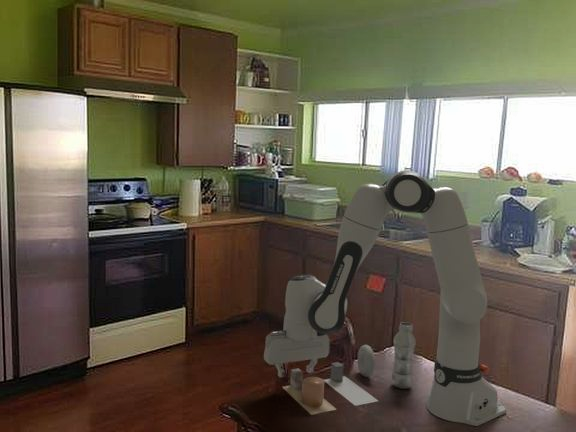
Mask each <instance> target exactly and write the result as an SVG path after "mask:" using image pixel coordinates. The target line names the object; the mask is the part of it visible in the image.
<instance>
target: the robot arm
mask: <svg viewBox="0 0 576 432" xmlns="http://www.w3.org/2000/svg"><path fill="white" fill-rule="evenodd" d="M463 206H464V205H463V204H462V200H461V198H460V197H459V194H458V193H457V192H456V190H454V189H453V188H451V187H447V186H440V187H435V188H434V187H432V186H431V185H430V184H429V183H428V182H427V181H426V180H425V178H424V177H423V176H422V175H421V174H420V173H418V172H416V171H413V170H409V169H408V170H407V169H404V170H400V171H398V172H396V173H394V174H393V175H392V176H391V177H390V178H389V179H388V180H387V181H385V182H384V183H383V184H381V185H378V184H375V183H364V184H361V185H360V186H359V187H357V188H356V190H355V192H354V193H353V196H352V197H351V198H350V200H349V203H348V205H347V206H346V209H345V212H344V215H343V216H342V219H341V223H340V227H339V231H338V236H337V244H336V250H335V251H336V253H335V257H334V263H333V266H332V268H331V270H330V271H331V272H330V275H329V276H328V279H327V282H326V284H325V283H323V282H322V281H320V280H319V279H317V277H316V276H315V275H313V274H298V275H295V276H293V277H291V278H290V280H289V281H288V283H287V285H286V290H285V301H284V306H285V314H284V318H283V330H279V331H272V332H270V333H269V334H267V335H266V337H265V347H264V352H263V359H264V361H265V362H266V363H267V364H269V365H270V366H271V365H272V366H273V365H274V366H275V367H276V369H277V376H278V377H279V378H284V377H285V376H286V370H284V369H283V368H282V367H283V364H286V363H294V362H301V361H307V360H310V362H309V363H308V365H307V364H306V366H305V367H306V369H305V370H306V373H308V374H312V373H314V367H315V366H316V364H317V363H318V359H322V358H324V359H325V358H326V357H328V355H329V353H330V338H329V336H330V335H333V334H337V333H338V332H340V330H341V329H342V328H343V327H344V324H345V323H346V313H347V310H348V302H349V301H348V294H349V291H350V289H351V286H352V283H353V281H354V278H355V275H356V273H357V271H358V270H359V268H360V266H361V264H362V263H363V262H364V260H365V258H366V257H367V256H368V253H369V252H370V251H371V249H372V248H373V247H374V245H375V243H376V241H377V239H378V237H379V234H380V233H381V230H382V227H383V224H384V222H385V220H386V219H387V216H388V214H390V213H391V211H394V210H397V211H399V212H402V213H410V214H411V213H416V214H420V215H421V216H422V218H423V222H424V225H425V230H426V235H427V237H428V238H427V239H428V243H429V247H430V251H431V255H432V259H433V263H434V267H435V271H436V275H437V279H438V280H437V281H438V284H439V287H440V292H439V293H440V294H439V315H438V317H439V318H438V340H437V351H436V358H435V359H434V367H433V372H434V374H433V380H432V383H431V389H430V393H429V394H428V400H427V403H426V408H427V410H428V411H429V412H430V413H431V414H432V415H434V416H436V417H438V418H440V419H443V420H446V421H450V422H454V423H461V424H466V425H470V426H475V427H478V426H480V425H483V424H485V423H487V422H489V421H491V420H493V419H496V418H497V417H500V416H502V415H504V414H505V413H507V411H506V408H505V406H504V405H503V404H502V402H499V400H498V398H499V397H498V392H497V389H496V388H495V386H493V385H492V384H491V383H490V382H489V381H487V379H485V378H484V377H483V376H482V373H484V374H488V373H489V372H490V371H489V370H490V368H489V366H487V365H485V364H479V358H480V357H479V355H480V345H481V319H482V318H483V317H484V316H485V314H486V312H487V308H488V297H487V292H486V288H485V285H484V280H483V278H482V274H481V270H480V266H479V262H478V260H477V256H476V252H475V248H474V245H473V238H472V235H471V231H470V227H469V222H468V219H467V215H466V212H465V209H464V207H463Z"/></svg>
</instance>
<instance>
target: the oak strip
mask: <svg viewBox="0 0 576 432" xmlns="http://www.w3.org/2000/svg"><path fill="white" fill-rule="evenodd" d="M303 379H304V371H302V370H301V369H300V368H293V369H290V382H289V384H290V385H285V386H281V387H282V389H283V390H284V391H286V392H287V394H289V395H290V396H291V397H292V398H293V399H294V400H295V401H296V402H297V404H299V405H300V406H301V407H302V408H303V409H305V411H307V412H308V414H309V415H310V416H311V415H317V414H321V413H327V412H333V411H337V408H336V407H335V406H333V405H332V404H331V403H330V402H328V400H327V399H325V398H324V397H323V404H322V405H320V406H316V407H312V406H307V405H305V404H303V403H302V389H303Z"/></svg>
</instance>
